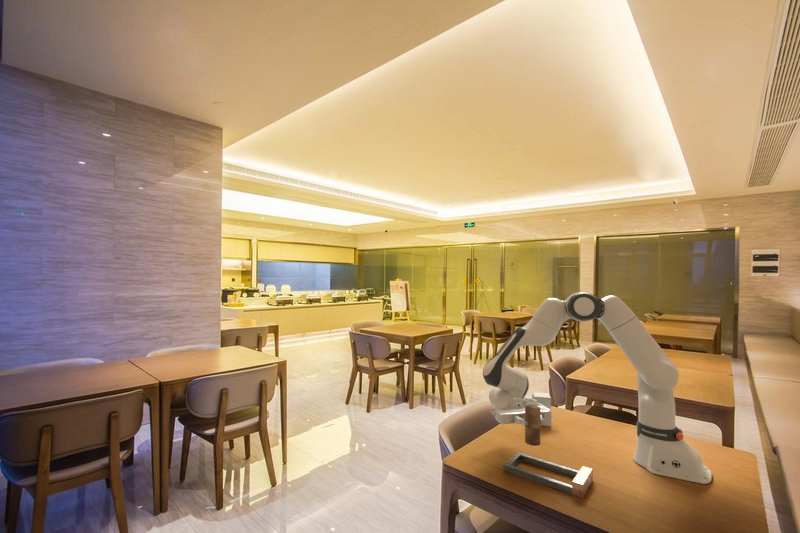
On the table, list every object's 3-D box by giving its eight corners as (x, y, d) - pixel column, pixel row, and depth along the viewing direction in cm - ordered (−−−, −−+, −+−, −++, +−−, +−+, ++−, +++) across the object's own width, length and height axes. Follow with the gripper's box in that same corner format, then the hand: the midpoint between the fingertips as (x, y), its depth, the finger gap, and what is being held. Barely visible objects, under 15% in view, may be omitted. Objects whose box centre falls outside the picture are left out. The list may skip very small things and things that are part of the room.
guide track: (592, 481, 126) (592, 468, 126) (582, 498, 116) (582, 484, 116) (518, 457, 142) (518, 446, 142) (504, 471, 132) (504, 459, 132)
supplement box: (551, 426, 172) (551, 397, 172) (533, 425, 173) (534, 396, 173) (548, 420, 179) (548, 392, 179) (531, 419, 180) (531, 391, 181)
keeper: (542, 442, 133) (542, 406, 133) (537, 447, 129) (537, 410, 129) (528, 438, 136) (528, 403, 136) (522, 442, 132) (522, 407, 132)
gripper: (488, 402, 143) (505, 415, 130) (538, 398, 147) (560, 411, 134) (488, 419, 143) (505, 434, 130) (538, 415, 147) (560, 430, 134)
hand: (534, 422), depth 132 cm, fingers closed on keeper, 5 cm apart
